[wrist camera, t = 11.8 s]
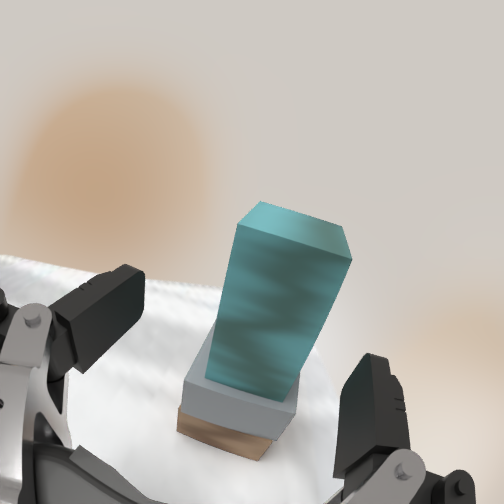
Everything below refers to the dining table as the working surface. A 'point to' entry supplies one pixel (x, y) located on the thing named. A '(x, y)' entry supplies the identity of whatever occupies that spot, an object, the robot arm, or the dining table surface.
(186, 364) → the dining table surface
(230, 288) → the teal pillar
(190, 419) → the walnut slab
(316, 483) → the dining table surface
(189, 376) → the grey slab
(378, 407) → the robot arm
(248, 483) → the dining table surface
